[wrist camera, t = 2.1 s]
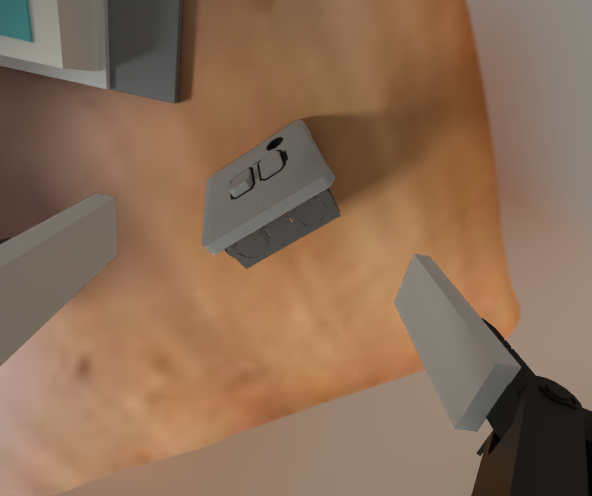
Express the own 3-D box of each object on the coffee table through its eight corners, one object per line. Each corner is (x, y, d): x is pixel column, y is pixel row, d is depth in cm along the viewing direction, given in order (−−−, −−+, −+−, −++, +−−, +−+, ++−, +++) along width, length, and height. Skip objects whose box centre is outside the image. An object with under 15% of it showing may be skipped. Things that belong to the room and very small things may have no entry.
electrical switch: (301, 115, 26) (316, 144, 18) (332, 170, 28) (357, 217, 20) (206, 178, 28) (180, 229, 20) (242, 224, 30) (233, 286, 22)
